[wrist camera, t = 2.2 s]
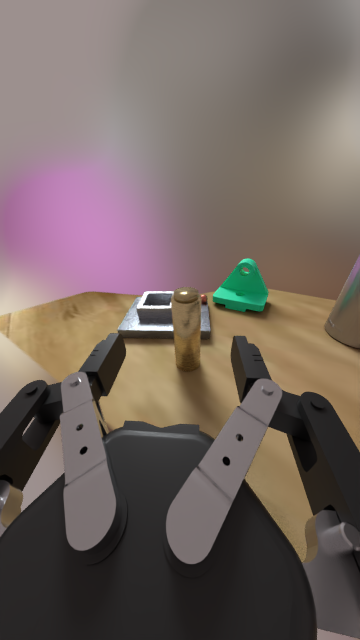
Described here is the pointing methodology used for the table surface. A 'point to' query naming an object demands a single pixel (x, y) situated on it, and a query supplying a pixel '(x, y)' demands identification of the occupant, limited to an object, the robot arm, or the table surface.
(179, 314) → the brass cylinder peg
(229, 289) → the camera mount
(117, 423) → the table surface
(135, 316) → the dock
